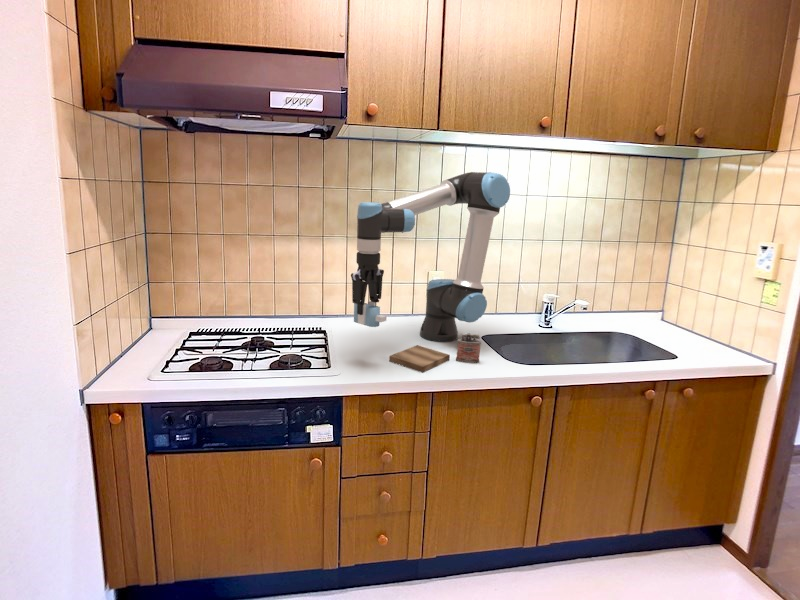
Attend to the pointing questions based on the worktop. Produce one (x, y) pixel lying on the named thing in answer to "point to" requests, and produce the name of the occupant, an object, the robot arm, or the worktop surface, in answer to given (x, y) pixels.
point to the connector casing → (370, 315)
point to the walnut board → (419, 358)
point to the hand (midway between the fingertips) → (366, 322)
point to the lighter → (468, 349)
